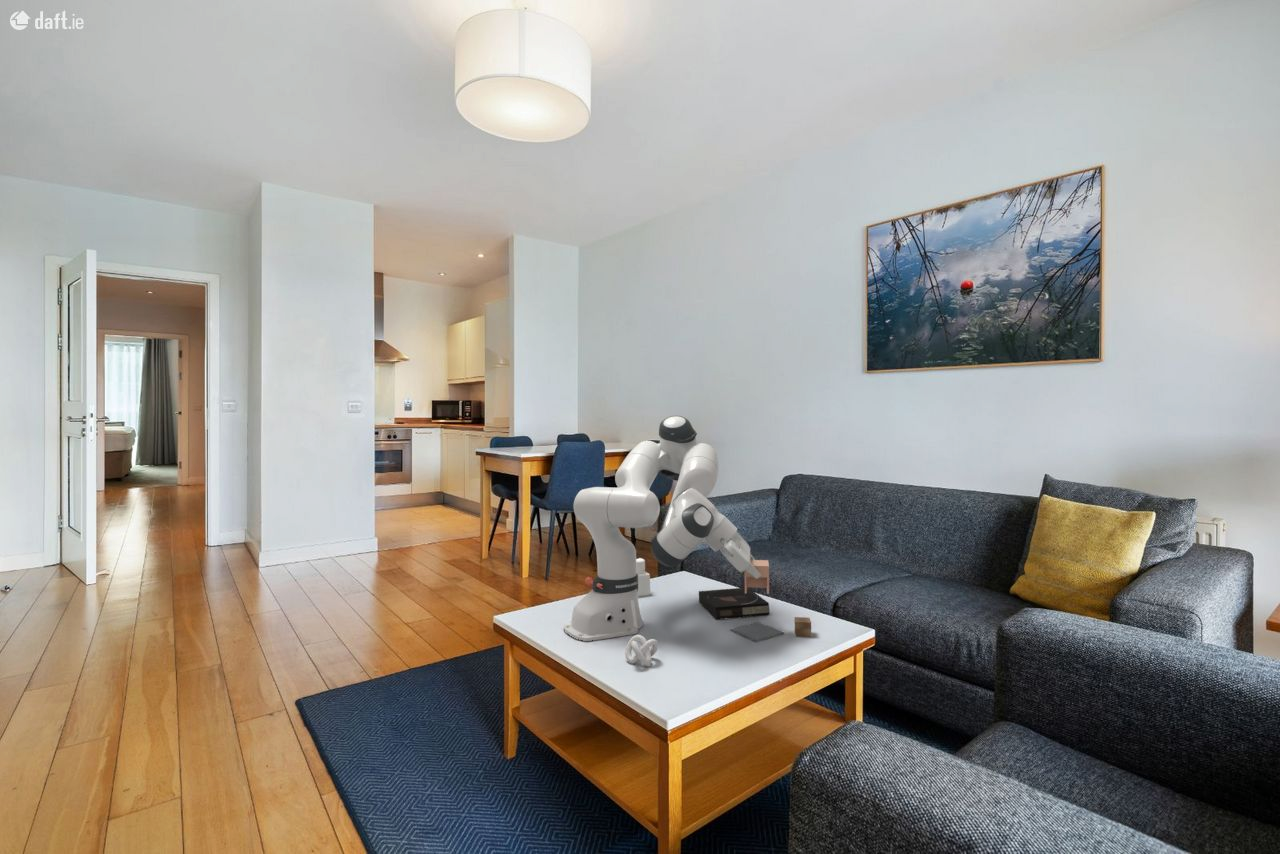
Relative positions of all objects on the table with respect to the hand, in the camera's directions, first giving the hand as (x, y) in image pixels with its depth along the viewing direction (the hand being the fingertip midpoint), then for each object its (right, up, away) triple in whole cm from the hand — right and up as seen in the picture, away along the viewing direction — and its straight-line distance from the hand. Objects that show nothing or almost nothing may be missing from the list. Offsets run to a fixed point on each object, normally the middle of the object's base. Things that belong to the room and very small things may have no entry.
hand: (758, 572), depth 165 cm
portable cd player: (-4, -17, +21) cm, 27 cm away
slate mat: (0, -16, 0) cm, 16 cm away
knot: (-31, -17, -18) cm, 40 cm away
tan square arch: (-1, -5, 0) cm, 5 cm away
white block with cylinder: (-33, -16, +37) cm, 53 cm away
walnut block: (+11, -16, -2) cm, 20 cm away
